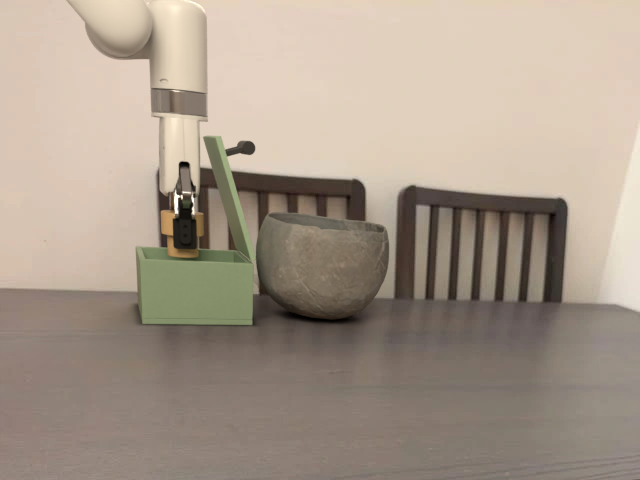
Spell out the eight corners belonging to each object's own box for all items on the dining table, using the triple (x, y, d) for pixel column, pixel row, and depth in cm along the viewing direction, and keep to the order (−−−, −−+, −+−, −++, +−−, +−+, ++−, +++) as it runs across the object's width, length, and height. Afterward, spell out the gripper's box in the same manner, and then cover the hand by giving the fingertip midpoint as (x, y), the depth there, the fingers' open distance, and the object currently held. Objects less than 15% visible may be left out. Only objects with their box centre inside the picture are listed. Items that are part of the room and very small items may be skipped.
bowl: (251, 327, 106) (253, 218, 100) (256, 300, 125) (258, 207, 119) (390, 335, 109) (401, 229, 102) (375, 308, 127) (383, 217, 121)
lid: (215, 137, 96) (255, 126, 97) (202, 136, 107) (238, 127, 108) (251, 261, 104) (288, 250, 104) (235, 248, 115) (269, 238, 116)
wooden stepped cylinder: (155, 255, 104) (154, 211, 102) (170, 251, 110) (169, 209, 107) (196, 260, 104) (195, 215, 101) (209, 255, 109) (209, 212, 107)
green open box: (142, 324, 102) (139, 259, 99) (138, 304, 114) (135, 246, 111) (252, 325, 107) (253, 263, 104) (237, 306, 119) (238, 250, 115)
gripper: (147, 106, 105) (152, 237, 112) (155, 102, 90) (160, 253, 98) (200, 111, 107) (201, 239, 115) (216, 108, 93) (216, 255, 100)
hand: (182, 244), depth 106 cm, fingers closed on wooden stepped cylinder, 6 cm apart
